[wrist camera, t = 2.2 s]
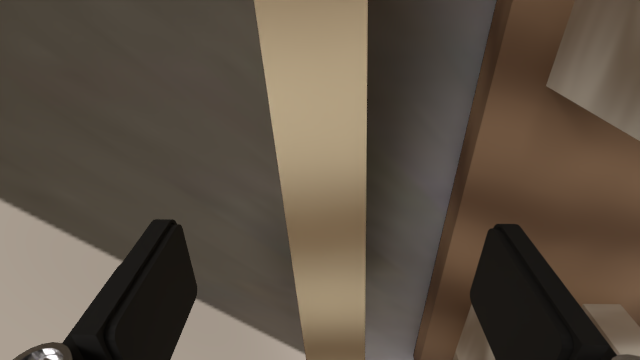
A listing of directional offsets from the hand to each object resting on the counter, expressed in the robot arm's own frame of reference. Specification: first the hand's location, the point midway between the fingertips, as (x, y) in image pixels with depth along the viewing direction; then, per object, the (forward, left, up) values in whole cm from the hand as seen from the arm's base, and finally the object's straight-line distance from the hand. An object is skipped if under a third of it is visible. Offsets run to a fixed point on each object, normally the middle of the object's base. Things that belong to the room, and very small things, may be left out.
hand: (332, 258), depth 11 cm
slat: (-1, 0, -6) cm, 6 cm away
